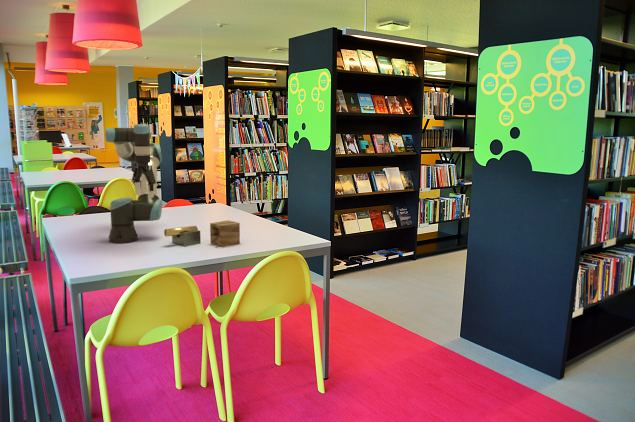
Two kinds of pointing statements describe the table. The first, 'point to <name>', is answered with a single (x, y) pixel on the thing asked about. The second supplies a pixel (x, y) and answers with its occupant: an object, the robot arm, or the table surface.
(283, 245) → the table surface
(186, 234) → the v block
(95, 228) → the table surface
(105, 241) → the table surface
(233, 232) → the wooden cube block
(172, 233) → the axle
